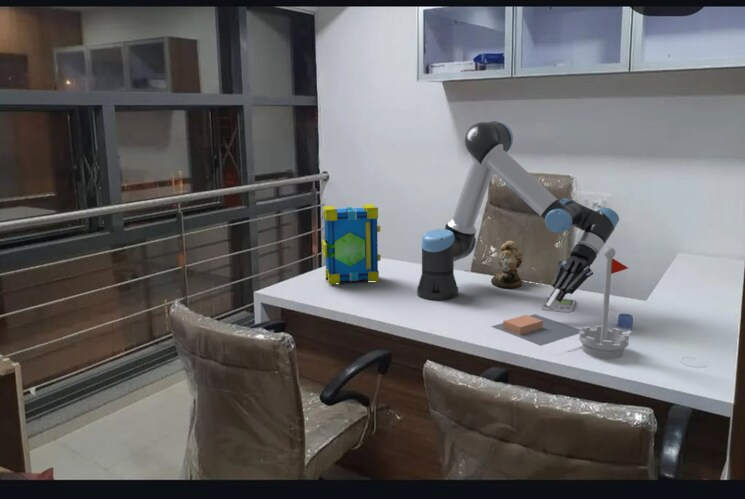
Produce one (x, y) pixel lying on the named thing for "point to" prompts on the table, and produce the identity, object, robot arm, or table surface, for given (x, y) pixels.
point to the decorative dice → (625, 321)
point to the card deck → (522, 324)
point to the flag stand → (605, 321)
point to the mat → (545, 331)
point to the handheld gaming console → (560, 305)
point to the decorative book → (351, 243)
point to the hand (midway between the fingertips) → (549, 307)
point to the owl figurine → (508, 266)
